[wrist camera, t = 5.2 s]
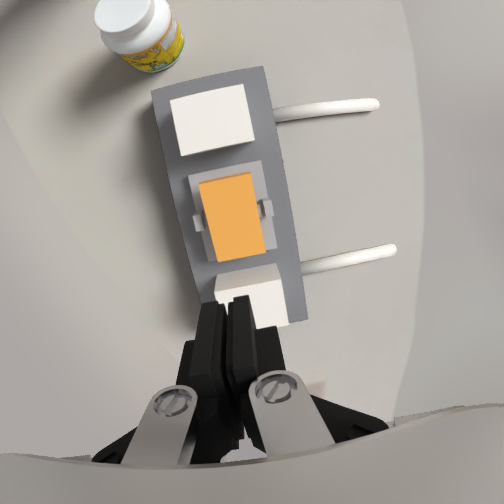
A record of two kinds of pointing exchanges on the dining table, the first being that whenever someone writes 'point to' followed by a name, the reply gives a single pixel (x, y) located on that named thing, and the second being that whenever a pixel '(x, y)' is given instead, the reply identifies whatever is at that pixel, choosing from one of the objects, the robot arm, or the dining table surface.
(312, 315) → the dining table surface
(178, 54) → the supplement bottle
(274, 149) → the power strip
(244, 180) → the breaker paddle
